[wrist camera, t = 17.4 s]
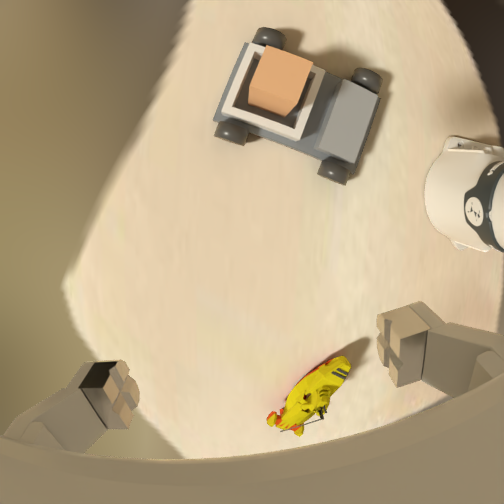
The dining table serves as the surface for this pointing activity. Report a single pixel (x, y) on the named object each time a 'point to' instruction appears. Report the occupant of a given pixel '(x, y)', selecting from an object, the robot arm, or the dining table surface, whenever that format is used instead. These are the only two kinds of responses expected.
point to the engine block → (278, 81)
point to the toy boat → (311, 396)
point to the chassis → (303, 111)
